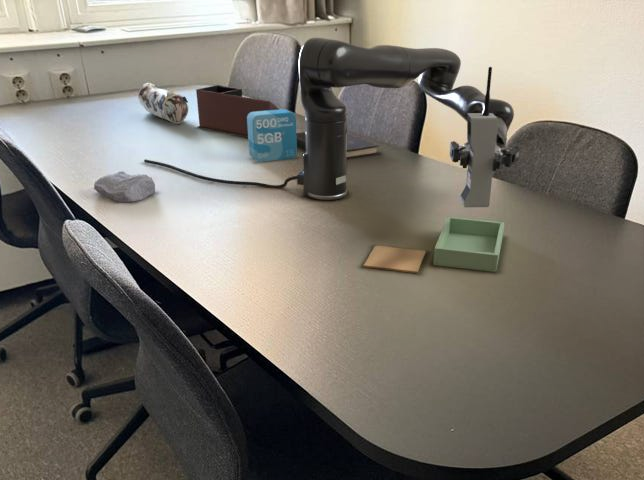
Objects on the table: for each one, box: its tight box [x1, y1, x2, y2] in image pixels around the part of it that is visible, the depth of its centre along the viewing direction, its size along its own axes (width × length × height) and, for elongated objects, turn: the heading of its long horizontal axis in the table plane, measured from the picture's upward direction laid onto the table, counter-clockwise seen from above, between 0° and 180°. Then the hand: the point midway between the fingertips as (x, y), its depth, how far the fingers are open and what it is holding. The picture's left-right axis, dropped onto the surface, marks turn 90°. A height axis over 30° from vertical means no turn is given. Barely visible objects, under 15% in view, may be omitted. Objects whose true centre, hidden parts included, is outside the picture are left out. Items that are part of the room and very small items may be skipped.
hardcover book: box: [296, 131, 380, 160], centre depth 199 cm, size 16×23×2 cm
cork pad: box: [363, 244, 427, 274], centre depth 132 cm, size 10×10×1 cm
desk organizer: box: [195, 84, 280, 139], centre depth 210 cm, size 10×29×11 cm, turn 58°
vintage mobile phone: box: [459, 66, 498, 208], centre depth 130 cm, size 4×5×25 cm
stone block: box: [93, 171, 156, 203], centre depth 160 cm, size 12×5×10 cm
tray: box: [432, 216, 505, 273], centre depth 136 cm, size 12×18×3 cm, turn 167°
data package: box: [247, 108, 298, 163], centre depth 186 cm, size 12×4×12 cm, turn 118°
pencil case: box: [138, 82, 189, 125], centre depth 224 cm, size 22×8×10 cm, turn 38°
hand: (479, 164), depth 130 cm, fingers closed on vintage mobile phone, 5 cm apart
